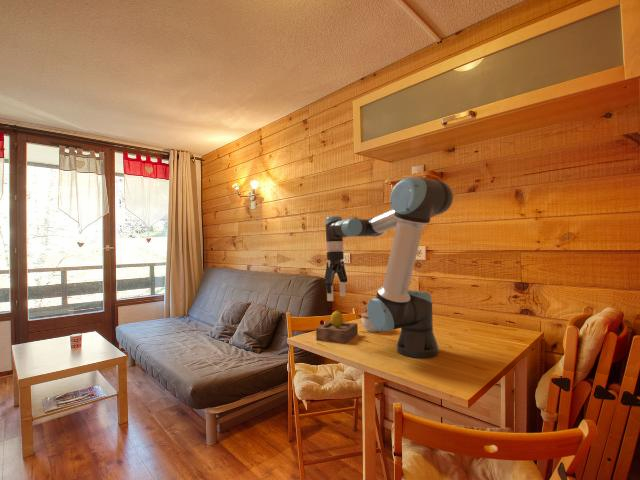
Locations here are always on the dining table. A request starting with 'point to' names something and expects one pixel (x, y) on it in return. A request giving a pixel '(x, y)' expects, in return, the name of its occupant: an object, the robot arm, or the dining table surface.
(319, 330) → the walnut base
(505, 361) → the dining table surface
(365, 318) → the lidded jar
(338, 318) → the lemon
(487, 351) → the dining table surface
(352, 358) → the dining table surface
